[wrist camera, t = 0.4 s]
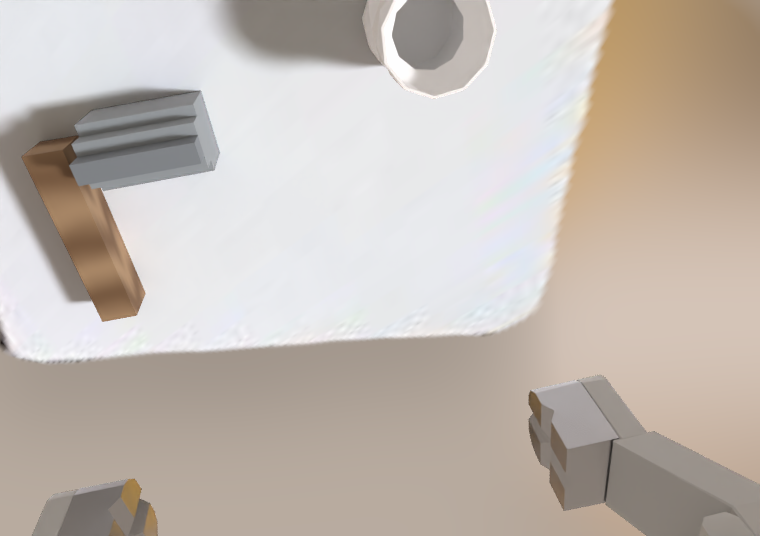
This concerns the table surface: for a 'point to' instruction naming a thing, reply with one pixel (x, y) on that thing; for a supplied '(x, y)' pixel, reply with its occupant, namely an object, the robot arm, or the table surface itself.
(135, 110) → the ridge block
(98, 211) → the walnut bar
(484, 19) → the vase
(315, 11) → the table surface
